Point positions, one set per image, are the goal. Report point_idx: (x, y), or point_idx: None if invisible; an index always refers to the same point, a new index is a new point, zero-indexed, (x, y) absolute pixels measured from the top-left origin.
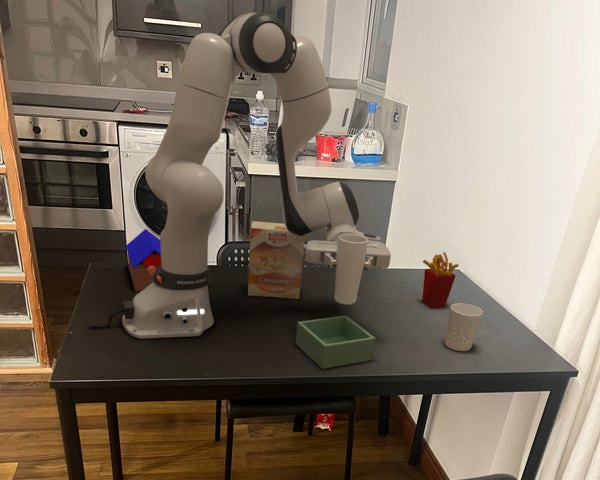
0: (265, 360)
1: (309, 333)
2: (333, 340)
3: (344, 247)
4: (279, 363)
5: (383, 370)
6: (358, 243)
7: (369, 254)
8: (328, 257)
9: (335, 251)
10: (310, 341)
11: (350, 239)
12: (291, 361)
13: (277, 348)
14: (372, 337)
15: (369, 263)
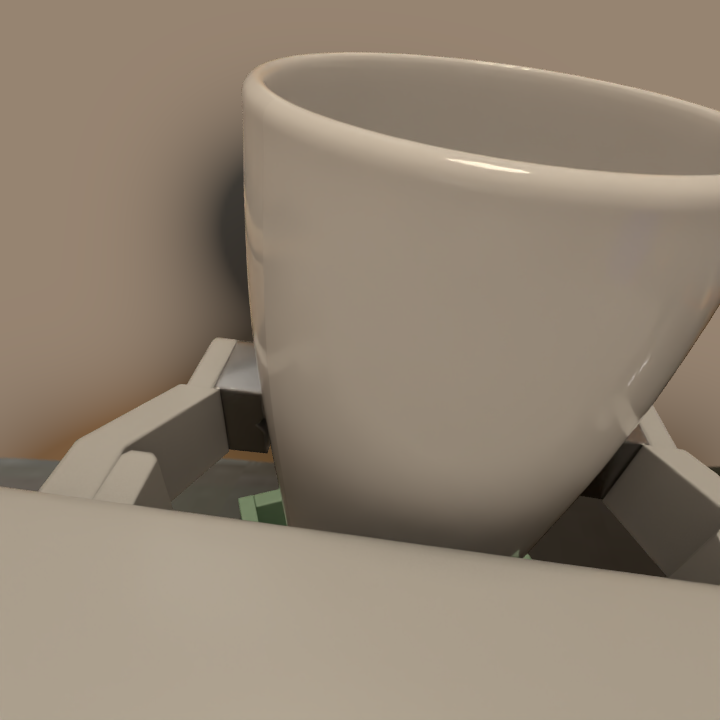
0: (640, 562)
1: (528, 557)
2: None
3: (570, 165)
4: (586, 540)
5: (237, 483)
6: (433, 66)
7: (73, 501)
8: (705, 472)
9: (692, 582)
10: None
11: (524, 301)
12: (549, 552)
13: None
14: (250, 505)
15: (229, 339)
